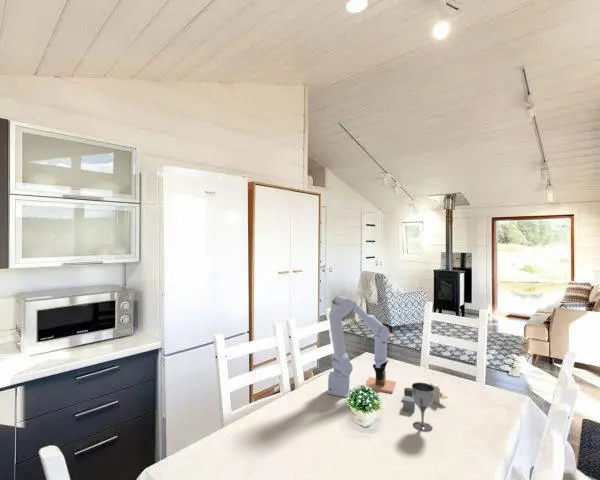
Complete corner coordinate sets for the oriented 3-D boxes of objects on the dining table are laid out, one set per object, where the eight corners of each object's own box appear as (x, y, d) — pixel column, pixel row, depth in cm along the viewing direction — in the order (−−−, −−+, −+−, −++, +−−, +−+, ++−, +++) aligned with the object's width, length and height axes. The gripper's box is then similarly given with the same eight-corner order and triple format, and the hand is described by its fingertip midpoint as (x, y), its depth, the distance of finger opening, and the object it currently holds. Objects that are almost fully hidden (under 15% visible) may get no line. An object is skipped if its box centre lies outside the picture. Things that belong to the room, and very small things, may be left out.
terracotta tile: (364, 388, 163) (364, 386, 163) (369, 379, 174) (369, 377, 174) (392, 393, 158) (392, 391, 158) (395, 383, 169) (395, 381, 169)
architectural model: (435, 398, 154) (436, 382, 154) (447, 405, 148) (447, 388, 148) (429, 399, 153) (429, 383, 153) (441, 407, 147) (441, 389, 146)
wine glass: (430, 434, 125) (430, 393, 125) (408, 427, 129) (408, 387, 129) (436, 425, 131) (436, 386, 131) (415, 418, 136) (415, 380, 136)
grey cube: (402, 410, 142) (403, 399, 142) (404, 405, 146) (404, 395, 146) (414, 412, 141) (414, 402, 141) (415, 407, 145) (415, 397, 145)
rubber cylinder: (403, 399, 152) (403, 390, 152) (404, 395, 156) (404, 387, 156) (413, 401, 151) (413, 392, 151) (414, 397, 154) (414, 388, 154)
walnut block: (375, 384, 165) (375, 372, 165) (377, 381, 169) (377, 369, 169) (384, 386, 163) (384, 373, 163) (385, 383, 167) (385, 370, 167)
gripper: (386, 355, 158) (386, 385, 158) (391, 346, 171) (391, 373, 171) (371, 353, 160) (371, 382, 160) (377, 344, 174) (376, 371, 174)
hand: (380, 377), depth 166 cm, fingers open, 5 cm apart
